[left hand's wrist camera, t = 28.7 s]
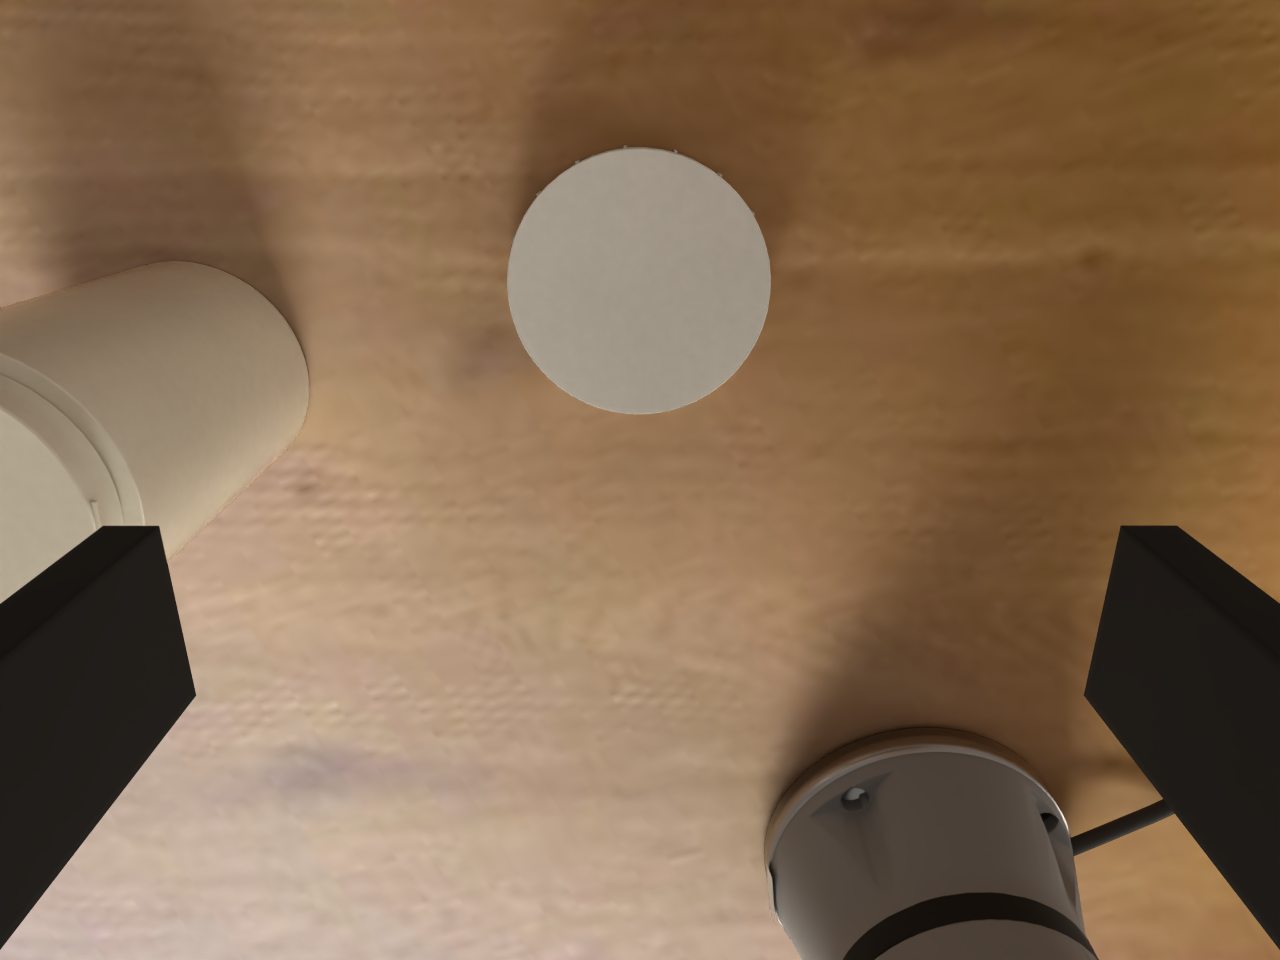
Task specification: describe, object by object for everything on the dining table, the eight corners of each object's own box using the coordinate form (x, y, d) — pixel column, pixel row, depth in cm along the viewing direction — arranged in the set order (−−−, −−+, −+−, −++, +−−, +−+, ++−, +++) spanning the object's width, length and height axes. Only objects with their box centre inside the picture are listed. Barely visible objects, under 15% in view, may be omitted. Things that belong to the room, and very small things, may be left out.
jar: (109, 480, 40) (-181, 678, 26) (56, 261, 36) (-314, 352, 22) (324, 478, 40) (150, 676, 26) (292, 259, 36) (70, 349, 22)
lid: (794, 172, 35) (801, 175, 34) (736, 422, 39) (740, 435, 37) (530, 122, 34) (525, 122, 33) (497, 381, 38) (491, 392, 37)
